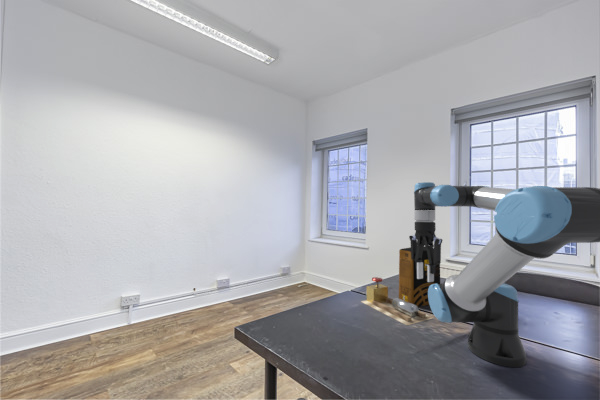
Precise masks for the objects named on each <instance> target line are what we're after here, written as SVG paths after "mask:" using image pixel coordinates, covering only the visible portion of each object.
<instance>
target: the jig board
mask: <svg viewBox="0 0 600 400" xmlns="http://www.w3.org/2000/svg"><path fill="white" fill-rule="evenodd" d="M393 299H394V298H393ZM393 299H392V298H391V297H388V298H386V302H381V303H380V302H378V301H372V303H371V302H369V301H367V299H366V300H365V299H364V300H360V302H361V303H362V304H365V305H366V306H368V307H371V308H372V309H374V310H376V311H378V312H380V313H382V314H384V315H385V316H388V317H389V318H391V319H394V320H395V321H397V322H400V323H401V324H403V325H405V326H410V325H414V324H417V323H422V322H425V321H428V320H432V319H435V316H431V315H428V314H427V313H426V312H423V311H420V310H419V311H418V314H417V316H416V317H411V316H409V315H407V314H405V313H403V312H400V311H398V310H396V309H394V308H393V307H392V301H393Z"/></svg>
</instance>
